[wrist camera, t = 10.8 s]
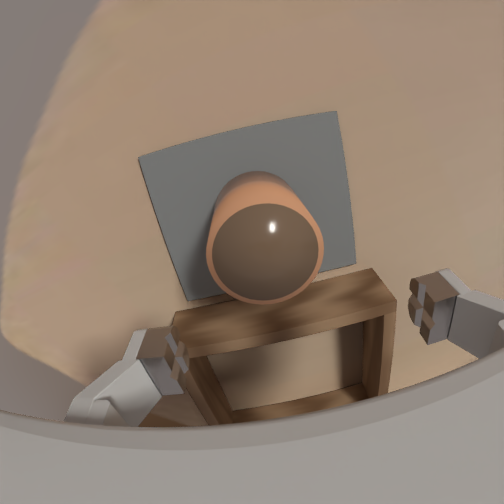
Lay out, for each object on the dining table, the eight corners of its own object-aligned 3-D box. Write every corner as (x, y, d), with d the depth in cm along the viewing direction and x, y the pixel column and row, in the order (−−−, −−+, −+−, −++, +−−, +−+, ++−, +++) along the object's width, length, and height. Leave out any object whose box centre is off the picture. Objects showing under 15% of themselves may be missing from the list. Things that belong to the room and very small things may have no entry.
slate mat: (335, 111, 19) (336, 111, 19) (354, 261, 25) (356, 263, 24) (139, 156, 20) (138, 157, 20) (188, 299, 25) (187, 301, 25)
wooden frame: (371, 267, 25) (396, 300, 20) (369, 385, 32) (383, 418, 27) (175, 311, 26) (165, 351, 21) (226, 416, 32) (226, 451, 28)
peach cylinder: (290, 162, 21) (315, 185, 14) (304, 241, 23) (329, 291, 17) (204, 182, 21) (191, 213, 15) (226, 258, 23) (223, 314, 17)
